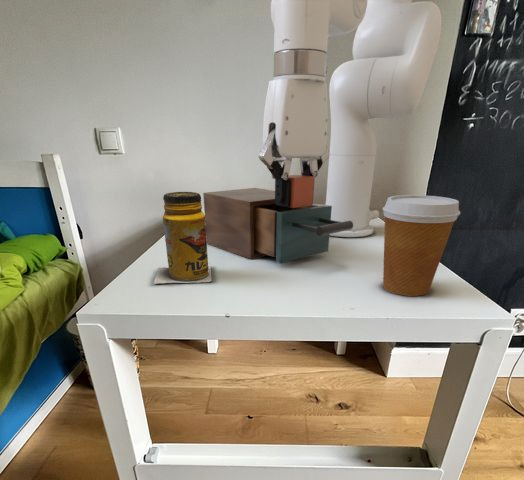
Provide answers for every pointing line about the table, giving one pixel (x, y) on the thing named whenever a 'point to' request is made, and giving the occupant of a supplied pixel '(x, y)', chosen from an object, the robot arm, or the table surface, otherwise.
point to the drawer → (294, 230)
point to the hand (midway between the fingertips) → (294, 203)
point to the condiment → (184, 240)
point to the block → (301, 190)
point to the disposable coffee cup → (415, 240)
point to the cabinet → (234, 219)
